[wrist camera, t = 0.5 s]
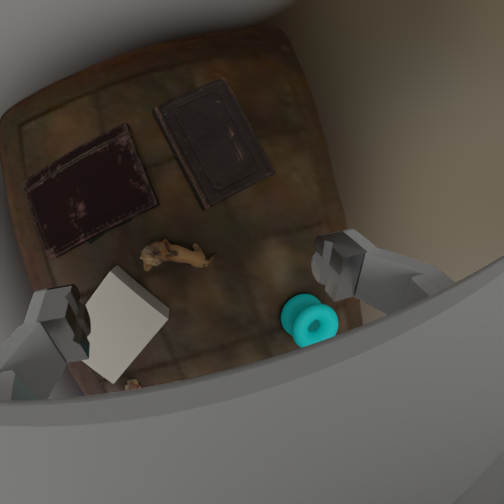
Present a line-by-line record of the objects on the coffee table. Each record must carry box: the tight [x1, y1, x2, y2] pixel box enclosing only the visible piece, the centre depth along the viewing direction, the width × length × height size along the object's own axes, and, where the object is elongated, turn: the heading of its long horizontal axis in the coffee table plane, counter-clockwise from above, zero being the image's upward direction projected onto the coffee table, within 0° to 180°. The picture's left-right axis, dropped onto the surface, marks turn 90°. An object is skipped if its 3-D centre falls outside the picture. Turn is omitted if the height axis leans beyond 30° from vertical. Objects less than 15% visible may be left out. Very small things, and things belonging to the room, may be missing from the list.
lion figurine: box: [140, 239, 219, 271], centre depth 53 cm, size 15×5×9 cm, turn 86°
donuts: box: [281, 294, 338, 348], centre depth 60 cm, size 10×10×10 cm
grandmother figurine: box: [124, 379, 141, 391], centre depth 53 cm, size 8×4×13 cm, turn 7°
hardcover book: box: [152, 78, 275, 210], centre depth 55 cm, size 16×23×2 cm
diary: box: [23, 123, 160, 260], centre depth 49 cm, size 19×25×5 cm
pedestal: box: [82, 265, 169, 384], centre depth 53 cm, size 14×20×6 cm
